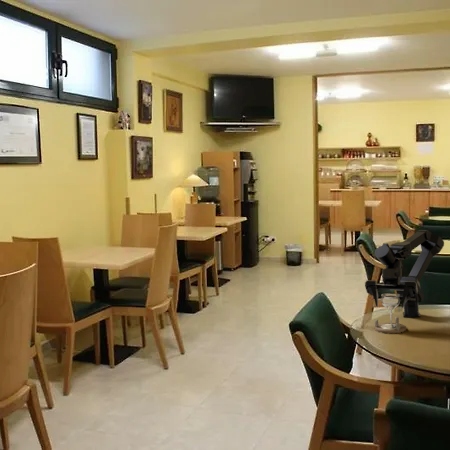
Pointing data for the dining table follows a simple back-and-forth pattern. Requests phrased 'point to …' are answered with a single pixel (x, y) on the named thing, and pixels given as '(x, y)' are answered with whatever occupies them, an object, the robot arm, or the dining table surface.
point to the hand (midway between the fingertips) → (389, 306)
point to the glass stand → (383, 329)
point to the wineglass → (390, 304)
